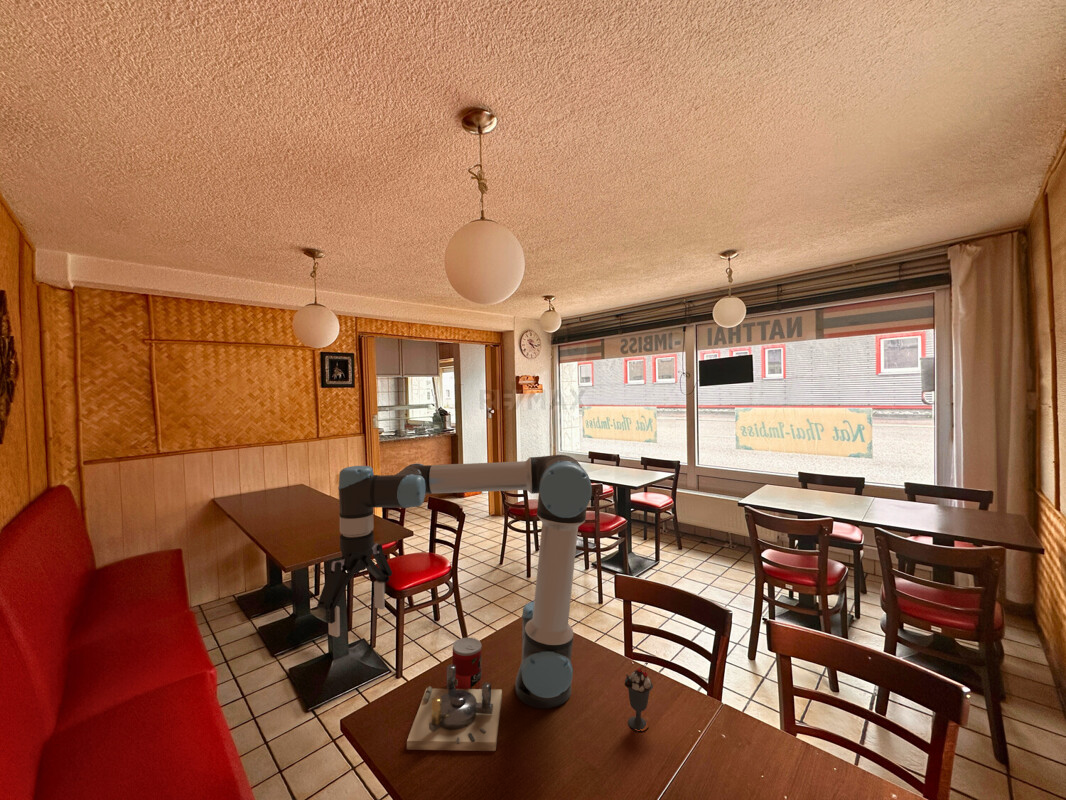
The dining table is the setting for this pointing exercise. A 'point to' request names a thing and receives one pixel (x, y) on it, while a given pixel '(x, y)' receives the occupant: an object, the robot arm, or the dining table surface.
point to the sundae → (638, 696)
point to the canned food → (467, 663)
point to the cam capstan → (458, 705)
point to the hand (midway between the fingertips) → (358, 620)
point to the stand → (467, 738)
